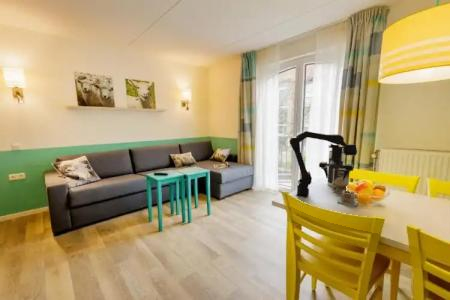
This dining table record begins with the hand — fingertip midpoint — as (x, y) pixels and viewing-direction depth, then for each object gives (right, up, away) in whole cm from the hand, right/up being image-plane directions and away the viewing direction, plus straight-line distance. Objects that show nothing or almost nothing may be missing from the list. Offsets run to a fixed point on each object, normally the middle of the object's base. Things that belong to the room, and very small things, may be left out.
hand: (335, 179), depth 134 cm
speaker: (+13, -8, +25) cm, 30 cm away
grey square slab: (+4, -13, -6) cm, 15 cm away
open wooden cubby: (+4, -12, -6) cm, 14 cm away
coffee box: (+10, -10, +12) cm, 19 cm away
